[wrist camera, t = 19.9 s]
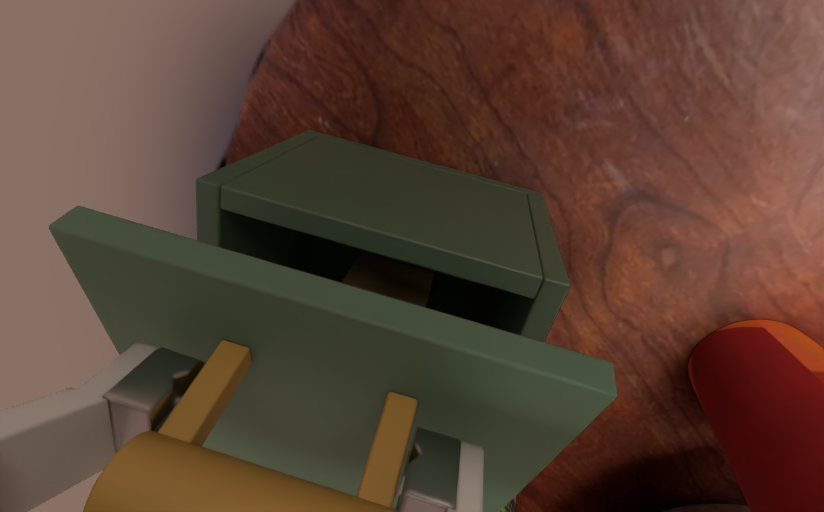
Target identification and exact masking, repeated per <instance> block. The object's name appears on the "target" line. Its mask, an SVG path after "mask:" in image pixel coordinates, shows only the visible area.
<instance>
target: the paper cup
mask: <svg viewBox="0 0 824 512" xmlns="http://www.w3.org/2000/svg"><path fill="white" fill-rule="evenodd" d="M688 373H689V377H690V380H691V383H692V386H693V388H694V391H695V393H696V395H697V397H698V399H699V402H700V404H701V406H702V408H703V411H704V413H705V415H706V417H707V419H708V421H709V423H710V426H711V428H712V430H713V432H714V434H715V436H716V438H717V440H718V443H719V445H720V447H721V449H722V451H723V453H724V455H725V457H726V459H727V461H728V464H729V466H730V468H731V470H732V472H733V474H734V476H735V478H736V480H737V483H738V485H739V487H740V489H741V491H742V493H743V495H744V497H745V499H746V501H747V504H748V506H749V508H750V510H751V512H824V349H823V348H822V347H821V346H819V345H818V344H817V343H815V342H814V341H813V340H812V339H810V338H809V337H807V336H806V335H805V334H803V333H802V332H800V331H799V330H797V329H795V328H794V327H792V326H790V325H787V324H785V323H781V322H778V321H772V320H747V321H741V322H737V323H733V324H730V325H727V326H724V327H722V328H720V329H718V330H716V331H714V332H713V333H711V334H710V335H708V336H707V337H706V338H704V339H703V340H702V341H701V342H700V343H699V344H698V345H697V347H696V348H695V349H694V351H693V353H692V354H691V357H690V359H689V364H688Z"/></svg>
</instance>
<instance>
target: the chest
mask: <svg viewBox="0 0 824 512" xmlns="http://www.w3.org/2000/svg"><path fill="white" fill-rule="evenodd" d="M196 200H197V201H196V203H197V204H196V205H197V241H201V242H204V243H207V244H211V245H214V246H218V247H221V248H224V249H228V250H231V251H235V252H238V253H241V254H245V255H248V256H252V257H255V258H259V259H262V260H265V261H269V262H272V263H276V264H279V265H282V266H286V267H289V268H293V269H296V270H299V271H303V272H306V273H310V274H313V275H316V276H320V277H323V278H327V279H330V280H333V281H337V282H340V283H341V282H342V281H343V279H344V278H345V276H346V275H347V273H348V272H349V270H350V269H351V267H352V266H353V264H354V263H355V261H356V259H357V258H358V256H359V255H360V253H361V252H364V253H367V254H371V255H374V256H378V257H381V258H385V259H388V260H392V261H395V262H399V263H402V264H406V265H409V266H413V267H416V268H420V269H423V270H427V271H430V272H434V273H435V275H434V279H433V283H432V286H431V290H430V293H429V297H428V301H427V304H426V308H429V309H432V310H436V311H439V312H442V313H446V314H449V315H453V316H456V317H459V318H463V319H466V320H470V321H473V322H477V323H480V324H483V325H487V326H490V327H494V328H497V329H500V330H504V331H507V332H511V333H514V334H517V335H521V336H524V337H528V338H531V339H534V340H538V341H541V342H544V341H545V339H546V337H547V335H548V332H549V330H550V328H551V326H552V324H553V322H554V320H555V318H556V316H557V314H558V312H559V309H560V307H561V305H562V303H563V301H564V299H565V297H566V295H567V293H568V291H569V288H570V282H569V279H568V276H567V273H566V270H565V266H564V263H563V260H562V257H561V253H560V250H559V247H558V244H557V240H556V237H555V234H554V231H553V227H552V224H551V221H550V218H549V214H548V211H547V208H546V205H545V201H544V198H543V194H542V193H540V192H537V191H533V190H529V189H526V188H522V187H518V186H515V185H511V184H507V183H504V182H500V181H496V180H493V179H489V178H485V177H482V176H478V175H474V174H471V173H467V172H463V171H460V170H456V169H452V168H449V167H445V166H441V165H438V164H434V163H430V162H427V161H423V160H419V159H416V158H412V157H409V156H405V155H401V154H398V153H394V152H390V151H387V150H383V149H379V148H376V147H372V146H368V145H365V144H361V143H357V142H354V141H350V140H346V139H343V138H339V137H335V136H332V135H328V134H324V133H321V132H317V131H313V130H307V131H305V132H303V133H300V134H298V135H296V136H294V137H291V138H289V139H287V140H285V141H282V142H280V143H278V144H275V145H273V146H271V147H269V148H266V149H264V150H262V151H259V152H257V153H255V154H253V155H250V156H248V157H246V158H243V159H241V160H239V161H237V162H234V163H232V164H230V165H227V166H225V167H223V168H221V169H218V170H216V171H214V172H211V173H209V174H207V175H205V176H202V177H200V178H198V179H197V180H196Z"/></svg>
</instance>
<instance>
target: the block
mask: <svg viewBox="0 0 824 512" xmlns="http://www.w3.org/2000/svg"><path fill="white" fill-rule="evenodd" d="M434 275H435V273H434V272H430V271H427V270H423V269H420V268H416V267H413V266H409V265H406V264H402V263H399V262H395V261H392V260H388V259H385V258H381V257H378V256H374V255H371V254H367V253H364V252H361V253H360V255H359V256H358V258H357V259H356V261H355V263H354V264H353V266H352V267H351V269H350V270H349V272H348V273H347V275H346V276H345V278H344V279H343V281H342V282H341V283H344V284H347V285H350V286H354V287H357V288H361V289H364V290H368V291H371V292H374V293H378V294H381V295H385V296H388V297H391V298H395V299H398V300H402V301H405V302H408V303H412V304H415V305H419V306H422V307H425V308H426V304H427V301H428V297H429V293H430V290H431V286H432V283H433V279H434Z"/></svg>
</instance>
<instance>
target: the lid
mask: <svg viewBox="0 0 824 512" xmlns="http://www.w3.org/2000/svg"><path fill="white" fill-rule="evenodd" d="M49 230H50V231H51V233H52V235H53V237H54V239H55V241H56V242H57V244H58V246H59V248H60V250H61V251H62V253H63V255H64V257H65V258H66V260H67V262H68V264H69V265H70V267H71V269H72V271H73V273H74V274H75V276H76V278H77V280H78V282H79V283H80V285H81V287H82V289H83V290H84V292H85V294H86V296H87V297H88V299H89V301H90V303H91V305H92V307H93V308H94V310H95V312H96V314H97V315H98V317H99V319H100V321H101V323H102V324H103V326H104V328H105V330H106V332H107V333H108V335H109V337H110V339H111V340H112V342H113V344H114V346H115V348H116V349H117V351H118V353H119V355H121V354H122V353H123V352H125V351H126V350H127V349H128V348H130V347H131V346H132V345H133V344H135V343H138V342H141V341H144V342H147V343H150V344H153V345H156V346H159V347H163V348H166V349H169V350H172V351H175V352H178V353H181V354H183V355H186V356H189V357H192V358H195V359H198V360H201V361H203V362H205V363H206V364H205V365H204V367H203V368H202V369H201V371H200V372H199V374H198V375H197V377H196V378H195V379H194V381H193V382H192V384H191V385H190V386H189V388H188V389H187V391H186V392H185V394H184V395H183V396H182V398H181V399H180V401H179V402H178V404H177V405H176V406H175V408H174V409H173V411H172V412H171V414H170V415H169V416H168V418H167V419H166V421H165V422H164V424H163V425H162V426H161V428H160V429H159V431H158V432H156V431H146V432H142V433H140V434H138V435H136V436H135V437H133V438H132V439H131V440H129V441H128V442H127V443H126V444H125V445H124V446H123V447H122V448H121V449H120V450H119V451H118V452H117V453H116V454H115V455H114V456H113V457H112V459H111V460H110V461H109V463H108V464H107V465H106V467H105V468H104V469H103V471H102V473H101V475H100V476H99V477H98V479H97V481H96V483H95V484H94V486H93V488H92V490H91V492H90V494H89V497H88V499H87V502H86V504H85V507H84V511H83V512H398V511H397V510H396V509H395V506H396V503H397V500H398V496H397V493H398V489H399V484H400V480H401V476H402V472H403V468H404V465H405V462H406V458H407V455H408V452H409V451H410V450H411V445H412V441H413V437H414V434H415V431H416V429H417V427H420V428H423V429H427V430H430V431H433V432H437V433H440V434H443V435H447V436H450V437H454V438H457V439H459V440H463V441H466V442H469V443H472V444H476V445H479V446H482V447H483V450H484V472H483V512H500V511H501V510H502V509H503V508H504V507H505V506H506V505H507V504H508V503H509V502H510V501H511V500H512V499H513V498H514V497H515V496H516V495H517V494H518V493H519V492H520V491H521V490H522V489H523V488H524V487H525V486H526V485H527V484H528V483H529V482H530V481H532V480H533V479H534V478H535V477H536V476H537V475H538V474H539V473H540V472H541V471H542V470H543V469H544V468H545V467H546V466H547V465H548V464H549V463H550V462H551V461H552V460H553V459H554V458H555V457H556V456H557V455H558V454H559V453H560V452H561V451H562V450H563V449H564V448H565V447H566V446H567V445H568V444H569V443H570V442H571V441H572V440H573V439H574V438H576V437H577V436H578V435H579V434H580V433H581V432H582V431H583V430H584V429H585V428H586V427H587V426H588V425H589V424H590V423H591V422H592V421H593V420H594V419H595V418H596V417H597V416H598V415H599V414H600V413H601V412H602V411H603V410H604V409H605V408H606V407H607V406H608V405H609V404H610V403H611V402H612V401H613V400H614V399H615V398H616V397H617V388H616V381H615V374H614V366H613V364H612V363H611V362H609V361H606V360H603V359H599V358H596V357H592V356H589V355H586V354H582V353H579V352H575V351H572V350H568V349H565V348H562V347H558V346H555V345H551V344H548V343H545V342H541V341H538V340H534V339H531V338H528V337H524V336H521V335H517V334H514V333H511V332H507V331H504V330H500V329H497V328H494V327H490V326H487V325H483V324H480V323H477V322H473V321H470V320H466V319H463V318H459V317H456V316H453V315H449V314H446V313H442V312H439V311H436V310H432V309H429V308H425V307H422V306H419V305H415V304H412V303H408V302H405V301H402V300H398V299H395V298H391V297H388V296H385V295H381V294H378V293H374V292H371V291H368V290H364V289H361V288H357V287H354V286H350V285H347V284H344V283H340V282H337V281H333V280H330V279H327V278H323V277H320V276H316V275H313V274H310V273H306V272H303V271H299V270H296V269H293V268H289V267H286V266H282V265H279V264H276V263H272V262H269V261H265V260H262V259H259V258H255V257H252V256H248V255H245V254H241V253H238V252H235V251H231V250H228V249H224V248H221V247H218V246H214V245H211V244H207V243H204V242H201V241H197V240H194V239H190V238H187V237H184V236H179V235H177V234H173V233H170V232H167V231H163V230H160V229H156V228H153V227H149V226H146V225H143V224H139V223H136V222H132V221H129V220H126V219H122V218H119V217H115V216H112V215H108V214H105V213H101V212H98V211H95V210H92V209H88V208H85V207H81V206H77V207H75V208H73V209H72V210H70V211H69V212H68V213H66V214H65V215H63V216H62V217H60V218H59V219H57V220H56V221H55V222H53V223H52V224H50V226H49Z"/></svg>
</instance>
